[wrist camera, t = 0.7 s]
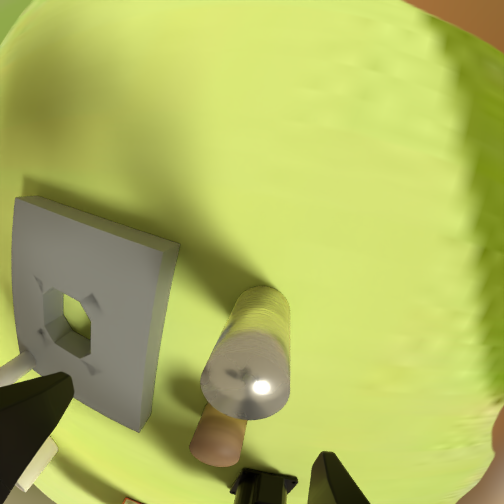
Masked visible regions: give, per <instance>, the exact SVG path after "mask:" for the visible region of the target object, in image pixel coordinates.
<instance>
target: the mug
mask: <svg viewBox="0 0 504 504" xmlns="http://www.w3.org/2000/svg"><path fill="white" fill-rule="evenodd" d="M57 452H58V447H57V445H56V443H55V442H54V440H53V439H52V438H51V437H50V436H49V437H48V438H47V439H46V441H45V442H44V444H43V445H42V446H41V448H40V449H39V451H38V452H37V453H36V455H35V456H34V458H33V459H32V461H31V462H30V463H29V465H28V466H27V468H26V469H25V471H24V472H23V474H22V475H21V477H20V478H19V479H18V481H17V482H16V484H15V485H16V486H17V487H18V488H19V489H21V490H22V491H24V492H26V491H27V490H28V489H29V488H30V486H31V485H32V484H33V483H34V481H35V480H36V479H37V477H38V476H39V475H40V474H41V472H42V471H43V470H44V468H45V467H46V466H47V465H48V463H49V462H50V461H51V460H52V458H53V457H54V456H55V454H56V453H57Z"/></svg>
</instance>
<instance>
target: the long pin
mask: <svg viewBox="0 0 504 504" xmlns="http://www.w3.org/2000/svg"><path fill="white" fill-rule="evenodd" d="M200 384H201V389H202V392H203V394H204V396H205V398H206V400H207V401H208V402H209V403H210V404H211V405H212V406H213V407H214V408H215V409H217V410H218V411H219V412H221V413H223V414H225V415H227V416H230V417H233V418H237V419H242V420H258V419H263V418H267V417H269V416H271V415H274V414H275V413H277V412H278V411H279V410H281V409H282V408H283V407H284V405H285V404H286V402H287V400H288V398H289V394H290V307H289V303H288V301H287V299H286V298H285V297H284V295H283V294H282V293H280V292H279V291H278V290H276V289H274V288H271V287H268V286H255V287H252V288H249V289H247V290H246V291H244V292H243V293H242V294H241V295H240V296H239V298H238V299H237V301H236V303H235V306H234V308H233V310H232V312H231V314H230V316H229V318H228V320H227V322H226V324H225V326H224V328H223V331H222V333H221V335H220V337H219V339H218V341H217V343H216V345H215V347H214V349H213V351H212V353H211V355H210V357H209V360H208V362H207V364H206V366H205V368H204V370H203V372H202V375H201V380H200Z"/></svg>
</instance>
